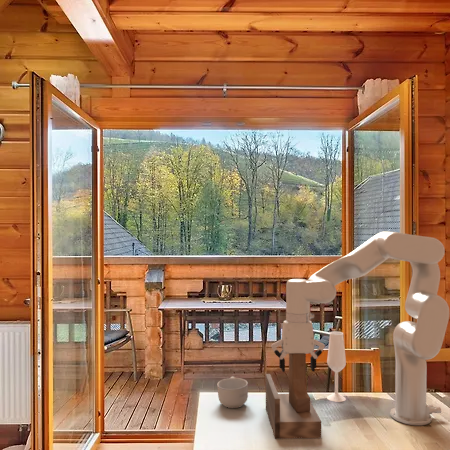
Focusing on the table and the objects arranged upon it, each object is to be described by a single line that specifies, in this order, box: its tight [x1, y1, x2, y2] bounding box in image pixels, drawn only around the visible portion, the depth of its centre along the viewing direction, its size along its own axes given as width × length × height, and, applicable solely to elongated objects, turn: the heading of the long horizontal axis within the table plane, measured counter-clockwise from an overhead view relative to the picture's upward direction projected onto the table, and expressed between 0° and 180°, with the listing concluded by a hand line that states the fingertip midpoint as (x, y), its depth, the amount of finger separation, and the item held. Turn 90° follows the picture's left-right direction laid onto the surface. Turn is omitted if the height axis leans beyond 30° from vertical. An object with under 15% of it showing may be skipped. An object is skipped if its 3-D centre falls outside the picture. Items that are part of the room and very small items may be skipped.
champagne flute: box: [326, 331, 347, 403], centre depth 168 cm, size 7×7×24 cm
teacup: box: [216, 376, 249, 409], centre depth 164 cm, size 14×11×8 cm
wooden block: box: [288, 354, 311, 412], centre depth 149 cm, size 9×4×18 cm, turn 9°
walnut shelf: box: [265, 373, 322, 440], centre depth 149 cm, size 14×22×12 cm, turn 2°
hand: (297, 370), depth 149 cm, fingers open, 9 cm apart
